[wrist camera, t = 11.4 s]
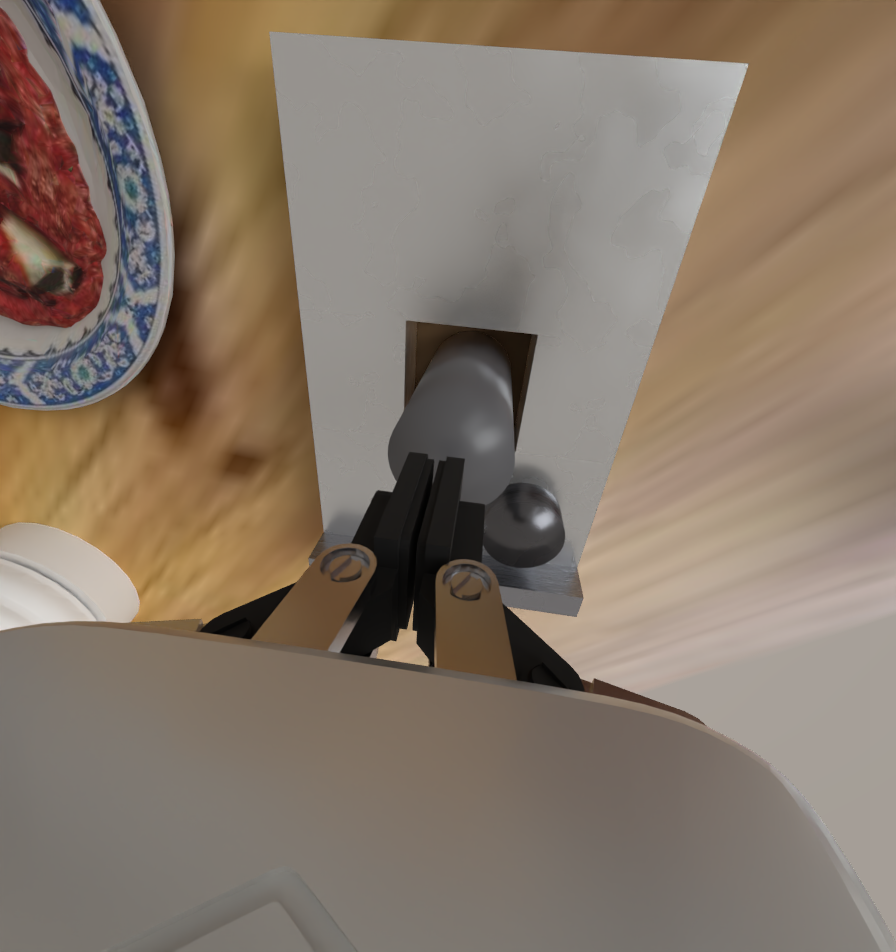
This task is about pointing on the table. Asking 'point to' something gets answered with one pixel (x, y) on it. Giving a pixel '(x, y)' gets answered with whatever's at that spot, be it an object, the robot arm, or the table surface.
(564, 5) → the table surface
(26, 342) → the ceramic plate
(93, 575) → the honey pot
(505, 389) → the gray cylinder
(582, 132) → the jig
